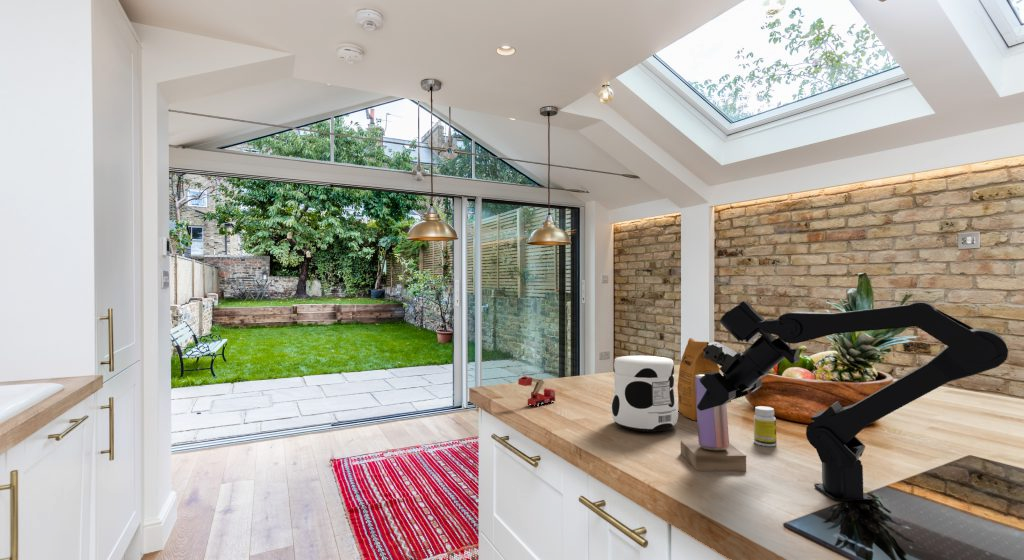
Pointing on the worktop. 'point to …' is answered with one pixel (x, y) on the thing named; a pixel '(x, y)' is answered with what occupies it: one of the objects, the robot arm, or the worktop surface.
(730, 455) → the walnut base brick
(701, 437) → the beverage can
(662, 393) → the milk container
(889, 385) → the robot arm
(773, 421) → the supplement bottle
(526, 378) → the toy fire truck
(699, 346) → the coffee package
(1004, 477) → the worktop surface
